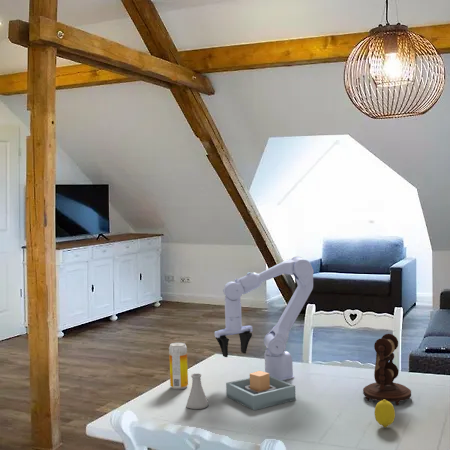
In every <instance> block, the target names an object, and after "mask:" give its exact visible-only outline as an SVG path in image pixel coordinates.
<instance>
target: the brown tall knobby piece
mask: <svg viewBox="0 0 450 450" xmlns="http://www.w3.org/2000/svg"><path fill="white" fill-rule="evenodd" d="M373 345H374V346H373V347H374V348H373V349H374V350H375V353H376V354H375V357H376V358H375V365H374V373H373V375H374V376H373V377H374V381H375V382H372V383H369V384H368V385H365V386H364V387H363V389H362V394H363V396H364V397H365V399H366V401H367V402H368V401H369V400H374V401H378V402H380V401H382V400H383V399H385V400H386V401H389V402H390V403H392V402H393V403H394V402H395V404H396V406H399V404H400V402H402V401H406V400H408V399H410V398H411V397H412V390H411V389H410V388H409V387H407V386H406V385H404V384H401V383H399V382H398V383H396V382H394V381H395V379H396V378H398V376H399V371H400V370H399V369H398V365H396V364H395V363H394V359H395V353H394V352H395V351H396V350H397V349H398V346H399V340H398V338H397V336H395V335H394V334H392V333H386V334H383V335H382V337H381V338H378V339H377V340H376V341H375V342H374V344H373Z"/></svg>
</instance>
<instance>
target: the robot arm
mask: <svg viewBox="0 0 450 450" xmlns="http://www.w3.org/2000/svg"><path fill="white" fill-rule="evenodd" d="M314 272H315V271H314V268H313V266H312V263H311V262H310V261H309V260H307V259H305V258H303V257H301V256H294V257H292V258H288V259H286V260H285V259H284V261H280V262H279V263H277V264H275V265H273V266H272V267H269V268H267V269H265V270H263V271H261V272H259V273H258V272H255V271H254V272H250V271H249V272H246V275H244V276H241V277H239V278H234V281H228V282H226V283H225V285H224V287H223V289H222V292H223V294H224V317H225V318H224V319H225V321H224V322H225V324H224V325H225V328H222V329H219V330H216V331H214V337H215V340H216V341H217V343H218V345H219V347H220V350H221V353H222V356H223V357H224V358H228V355H229V352H228V351H229V349H228V347H229V341H230V339H229V338H228V337H227V336H232V335H238V336H239V340H240V352H241V353H242V354H247V351H248V350H247V349H248V345H249V343H250V340H251V339H252V337H253V332H254V331H253V325H243V319H242V317H243V316H242V302H241V297H242V295H245V294H248V293H251V292H252V291H254V290H257V289H259V288H261V286H262V285H263V284H262V283H264V282H266V281H268V280H271V279H273V278H276V277H278V276H281V275H290V276H294V278H295V281H296V284H297V287H296V288H295V290H294V291H293V294H292V296H291V298H290V299H289V301H288V302H287V305H285V308H284V310H283V311H282V314H281V316H280V317H279V319H278V321H277V322H276V324H275V325H274V326H273V327H272V328H271V330H270V331H269V332H268V333H266V334H265V336H264V337H263V345H264V347H266V349H265V351H264V372H266V373H269V375H270V376H272V377H275V378H277V379H280V380H282V381H286V380H291V379H294V378H295V376H294V371H293V367H294V365H293V364H294V363H293V357H292V355H291V353H290V352H289V351H287V350H286V347H287V341H288V340H289V336H290V331H291V329H292V327H293V326H294V324H295V322H296V320H297V318H298V316H299V315H300V313H301V311H302V309H303V307H304V306H305V304H306V302H307V301H308V299H309V297H310V295H311V293H312V291H313V290H314Z"/></svg>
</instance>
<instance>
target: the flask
mask: <svg viewBox="0 0 450 450" xmlns="http://www.w3.org/2000/svg"><path fill="white" fill-rule="evenodd" d="M190 376H191V379H192V380H191V381H192V382H191V384H192V385H191V389H190V392H189V395H188V399H187V402H186V406H185V407H186V408H188V409H191V410H203V409H204V408H207V407H209V401H208V399H207V396H206V393H205V391H204V389H203V386H202V381H201V379H202V378H201V377H202V374H201V373H197V372H196V373H192V374H191V375H190Z"/></svg>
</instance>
